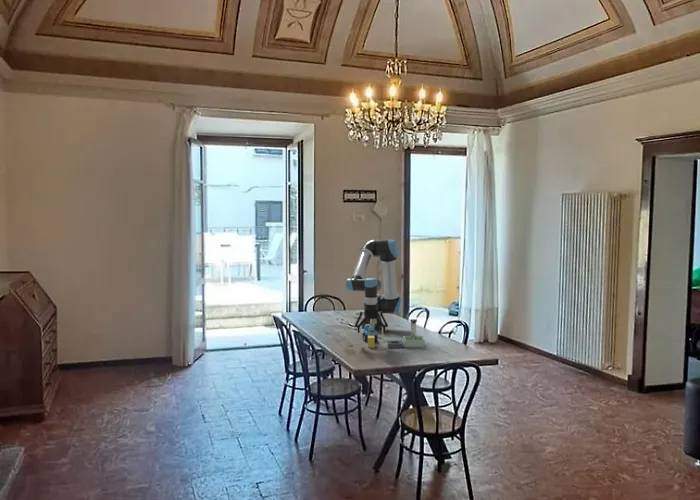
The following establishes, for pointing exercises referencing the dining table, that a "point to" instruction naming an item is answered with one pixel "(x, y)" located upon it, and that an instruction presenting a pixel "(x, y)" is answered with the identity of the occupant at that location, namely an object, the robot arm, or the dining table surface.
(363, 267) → the robot arm
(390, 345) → the pin holder
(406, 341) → the tray
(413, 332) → the stop pin
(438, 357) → the dining table surface
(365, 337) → the toy excavator
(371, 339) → the chock
